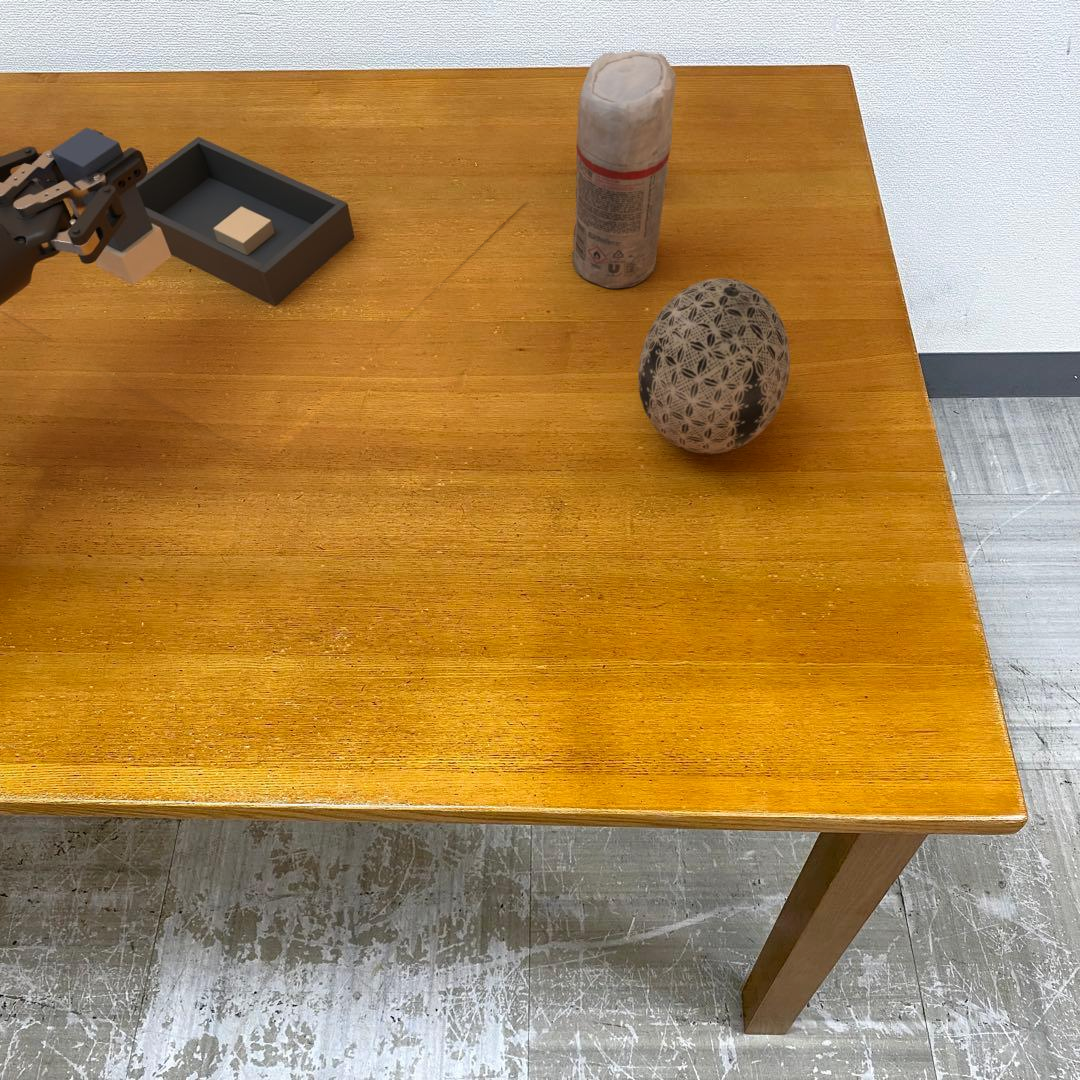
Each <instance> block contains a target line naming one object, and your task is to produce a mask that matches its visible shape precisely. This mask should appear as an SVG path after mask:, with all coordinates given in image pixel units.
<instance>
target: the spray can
mask: <svg viewBox="0 0 1080 1080" xmlns="http://www.w3.org/2000/svg"><path fill="white" fill-rule="evenodd" d="M676 87H677V74H676V72H675V70H674V69H673V67H672V66H671V64H670V62H669V61H668V59H667V58H666V56H664V55H663V54H661V53H658V52H645V51H640V50H635V49H632V50H630V51H627V52H625V51H624V52H617V53H615V52H613V51H611V52H605V53H604V52H603V54H602V55H601V56H599V57H598V58H596V59H595V60H594V61H592V62H591V64H590V65H589V69H588V72H587V74H586V76H585V79H584V82H583V84H582V87H581V90H580V93H579V99H578V105H579V106H578V108H577V129H576V175H575V180H576V185H575V224H574V229H573V251H572V252H571V259H572V264H573V268H574V270H575V271H576V273H577V274H578V275H580V277H582V279H585V280H587V281H589V282H591V283H593V284H595V285H598V286H601V287H604V288H607V289H621V288H622V289H624V288H631V287H633V286H637V285H639V284H640V283H642V282H643V281H645V280H646V279H647V278H649V277H650V275H652V273H653V272H654V271H655V269H656V265H657V264H656V263H657V257H658V252H657V250H658V245H659V237H660V231H661V224H662V214H663V205H664V200H665V192H666V183H667V176H668V169H669V168H668V167H669V158H670V152H671V148H672V141H673V123H674V106H675V94H676Z"/></svg>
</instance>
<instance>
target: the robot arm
mask: <svg viewBox="0 0 1080 1080" xmlns="http://www.w3.org/2000/svg"><path fill="white" fill-rule="evenodd" d="M92 130H93V131H95V132H98V133H100V134H102V135H104V133H103V132H101V131H99V130H96V129H92ZM52 150H53V149H49V150H46V151H44V152H43V153H40V152H38V150H37V148H36V147H34V146H32V145H31V146H30V145H29V146H26V147H22V148H20V149H17V150H15V151H12V152H9V153H6V154H4V155H1V156H0V306H2V305H3V304H5V303H6V302H7V301H8V300H10V299H12V297H14V296H16V295H17V294H18V293H20V292H21V291H22V290H23V289H25V288H27V287H28V286H29V285H30V283H31V281H32V278H33V277H32V275H33V271H34V269H35V266H36V265H37V264H38V263H41V262H42V261H44V260H46V259H50V258H53V257H56V256H57V255H59V254H60V252H65V253H71V254H77V256H78V258H79V260H80V262H81V263H82V264H84V265H85V264H86V265H89V264H93V263H94V262H95V261H96V260H97V258H98V257H99V256H100V254H101V253H102V251H103V250H104V249H105V247H106V246H107V244H108V243H109V241H110V240H111V239H112V237H113V236H114V234H115V233H116V232H117V230H118V229H119V227H120V226H121V224H122V223H123V222H124V220H125V219H126V217H127V215H126V212H125V210H124V208H123V205H122V203H121V201H120V198H119V196H120V195H122V194H123V193H124V192H126V191H127V190H129V189H130V188H131V187H133V186H134V185H135V184H137V183H138V182H140V181H141V180H142V179H144V177H145V176H146V174H147V173H148V172H149V169H148V165H147V163H146V160H145V158H144V155H143V152H142V151H141V150H139V149H137V148H135V147H129V148H127V149H126V150H124V151H122V152H123V153H122V154H120V155H119V156H118V157H116V158H115V159H113V160H112V161H110V162H109V163H107V164H106V165H105V166H103V167H102V168H100V169H99V170H98V173H94V174H92V175H89V176H87V177H85V178H83V179H81V180H79V181H77V182H75V183H71V182H70V181H64V179H63V176H62V174H61V172H60V170H59V168H58V166H57V164H56V162H55V159H54V157H53V155H52V153H51V151H52ZM16 167H18V168H17V169H16V170H15V171H14V172H13V173H12V169H14V168H16ZM92 191H94V193H95V196H94V197H93V199H92V200H91V201H90V202H89V203H87V204H85V203H84V201H83V197H84V196H85V195H86V194H88V193H90V192H92ZM65 200H67V202H68V203H69V206H70V208H71V210H72V215H71V213H70V210H69V208H68V206H67V204H66V202H65ZM106 212H107V215H106Z"/></svg>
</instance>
